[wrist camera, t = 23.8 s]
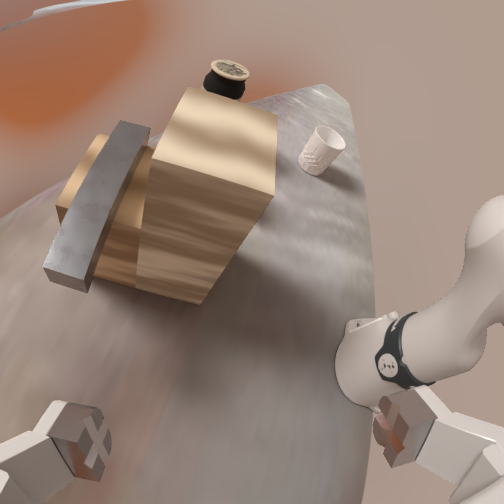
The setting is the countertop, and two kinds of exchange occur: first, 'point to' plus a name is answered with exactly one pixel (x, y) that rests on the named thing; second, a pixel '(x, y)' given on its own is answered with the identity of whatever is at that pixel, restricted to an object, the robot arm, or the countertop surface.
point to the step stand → (188, 197)
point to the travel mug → (226, 79)
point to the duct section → (95, 208)
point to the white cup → (321, 150)
